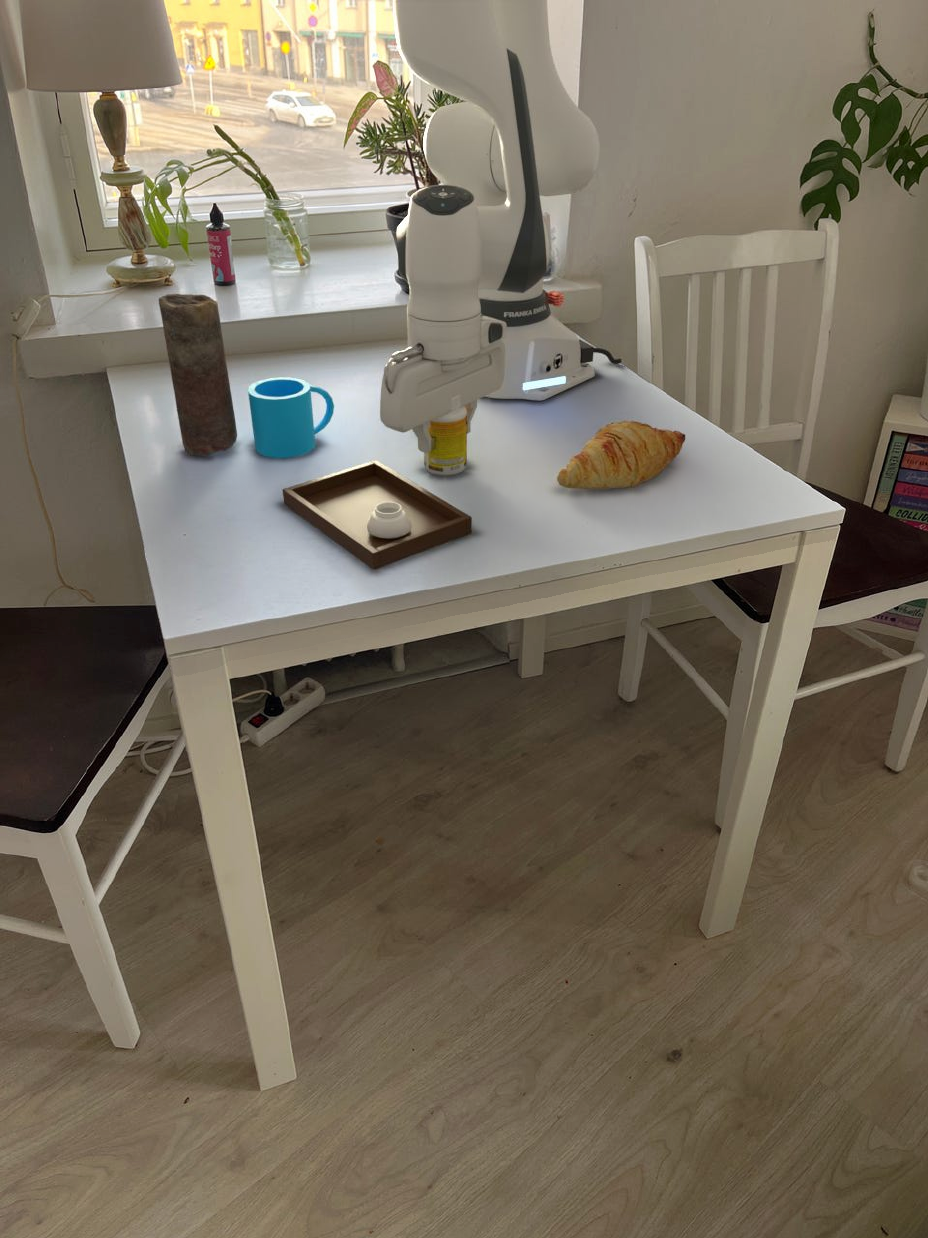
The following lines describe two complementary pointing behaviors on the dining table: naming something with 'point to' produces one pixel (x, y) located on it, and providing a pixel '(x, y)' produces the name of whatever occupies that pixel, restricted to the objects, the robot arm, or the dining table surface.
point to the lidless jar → (388, 521)
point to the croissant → (621, 456)
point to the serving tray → (352, 499)
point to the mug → (285, 416)
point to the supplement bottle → (448, 441)
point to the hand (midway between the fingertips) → (444, 441)
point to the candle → (199, 372)
